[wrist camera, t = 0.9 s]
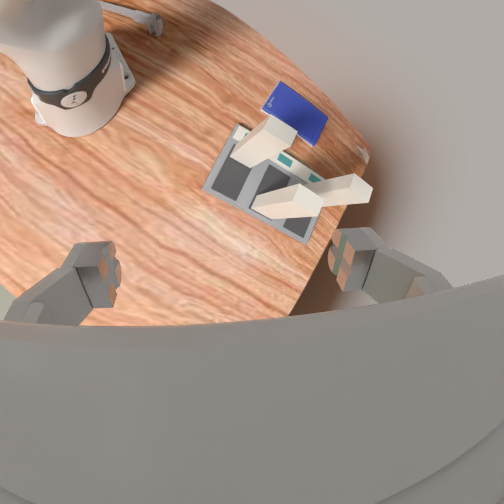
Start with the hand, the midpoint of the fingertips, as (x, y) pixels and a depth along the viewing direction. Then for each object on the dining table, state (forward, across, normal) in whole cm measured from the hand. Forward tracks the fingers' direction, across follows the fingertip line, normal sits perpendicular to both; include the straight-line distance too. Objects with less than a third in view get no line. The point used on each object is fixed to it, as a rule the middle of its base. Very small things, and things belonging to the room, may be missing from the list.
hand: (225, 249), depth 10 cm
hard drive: (+46, -16, 0) cm, 48 cm away
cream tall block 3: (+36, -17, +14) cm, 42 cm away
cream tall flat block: (+33, -8, +14) cm, 37 cm away
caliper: (+50, +18, -23) cm, 57 cm away
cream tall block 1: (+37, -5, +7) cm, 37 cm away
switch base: (+37, -10, +12) cm, 40 cm away
